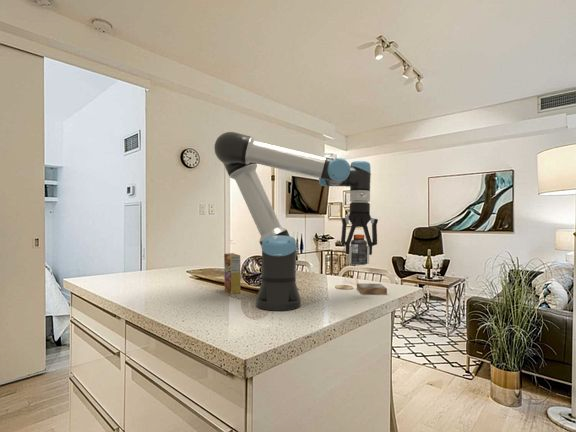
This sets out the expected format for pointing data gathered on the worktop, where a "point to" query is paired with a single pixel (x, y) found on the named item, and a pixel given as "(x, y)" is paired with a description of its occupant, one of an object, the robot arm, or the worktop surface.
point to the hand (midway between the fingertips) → (358, 263)
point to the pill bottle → (359, 250)
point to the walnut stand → (371, 289)
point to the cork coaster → (344, 287)
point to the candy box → (232, 272)
